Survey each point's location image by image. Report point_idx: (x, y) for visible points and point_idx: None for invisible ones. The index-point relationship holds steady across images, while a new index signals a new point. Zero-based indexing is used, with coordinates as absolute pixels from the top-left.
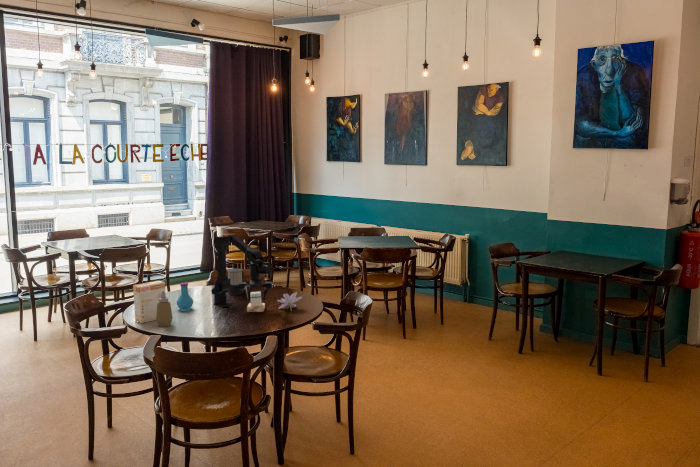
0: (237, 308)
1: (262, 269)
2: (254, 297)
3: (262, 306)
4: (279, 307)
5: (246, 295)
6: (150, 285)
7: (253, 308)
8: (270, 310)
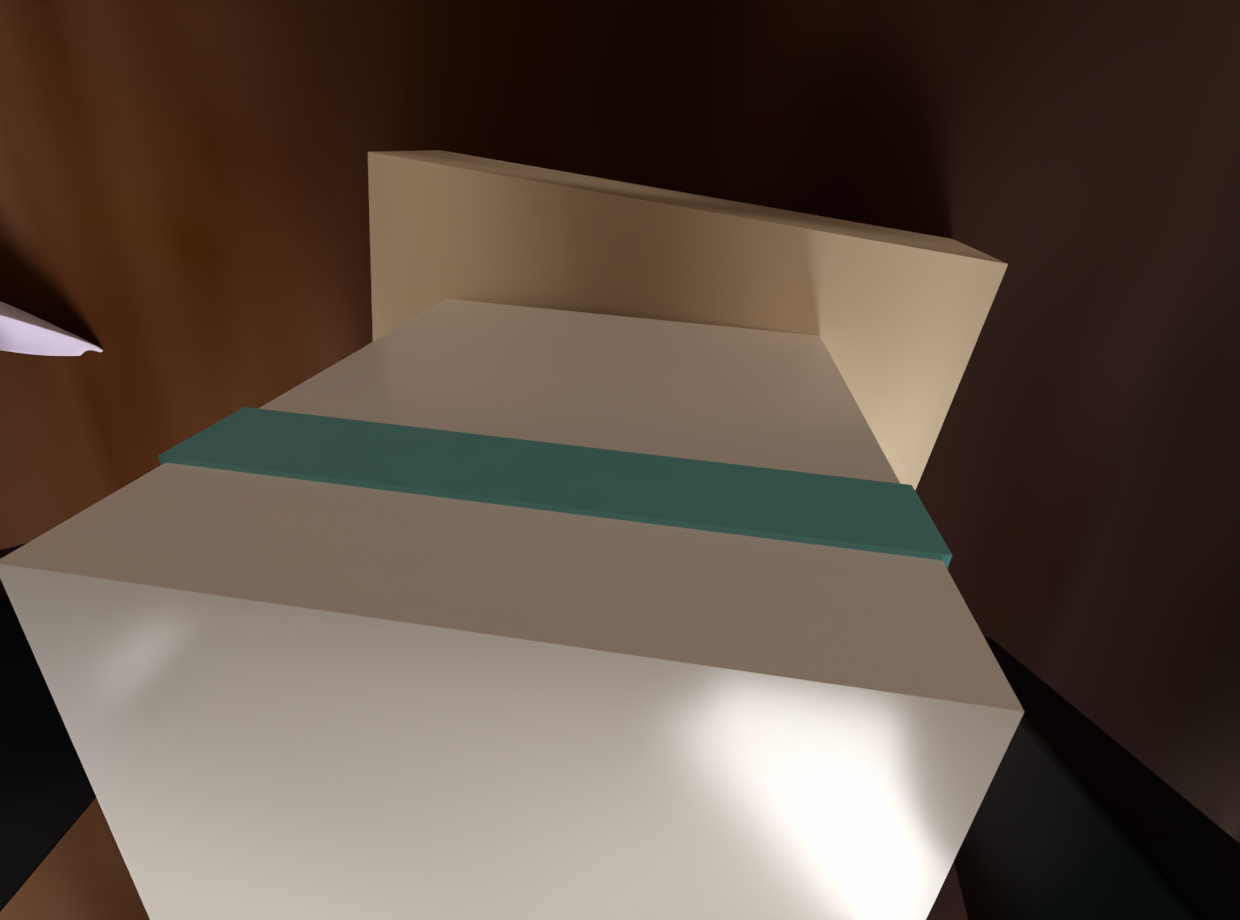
0: (1120, 658)
1: None
2: (625, 480)
3: (406, 267)
4: (13, 312)
5: (1186, 858)
6: None
7: (739, 213)
8: (259, 244)
